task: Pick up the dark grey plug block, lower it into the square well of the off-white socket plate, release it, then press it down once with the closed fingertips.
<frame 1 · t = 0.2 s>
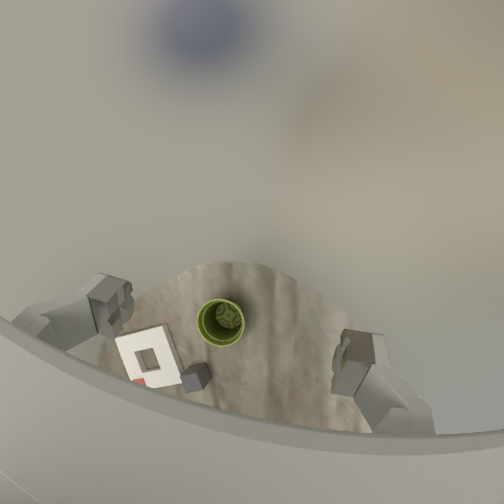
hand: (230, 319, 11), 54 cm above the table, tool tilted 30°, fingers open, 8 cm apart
plant pot: (229, 314, 66), on the table
socket plate: (151, 357, 68), on the table
plug: (200, 371, 67), on the table
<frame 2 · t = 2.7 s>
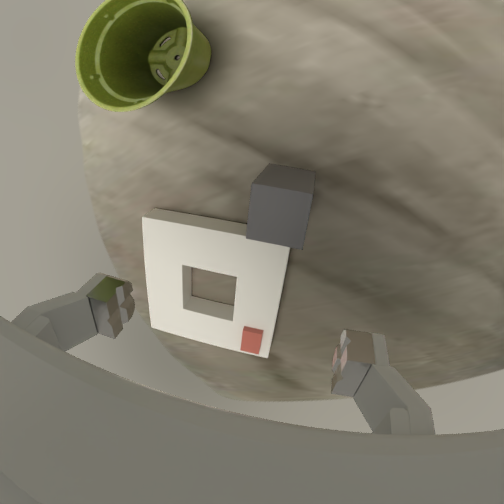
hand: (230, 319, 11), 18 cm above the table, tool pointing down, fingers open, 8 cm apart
plant pot: (181, 57, 23), on the table
socket plate: (215, 280, 33), on the table
plug: (289, 189, 26), on the table
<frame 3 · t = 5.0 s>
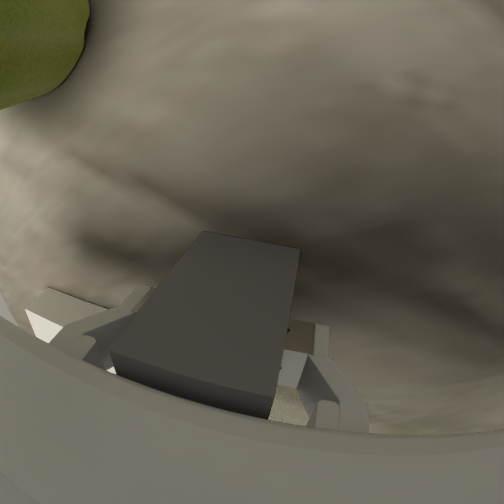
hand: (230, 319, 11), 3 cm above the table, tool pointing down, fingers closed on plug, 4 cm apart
plant pot: (52, 37, 10), on the table
socket plate: (149, 390, 19), on the table
plug: (246, 281, 13), on the table, touching gripper
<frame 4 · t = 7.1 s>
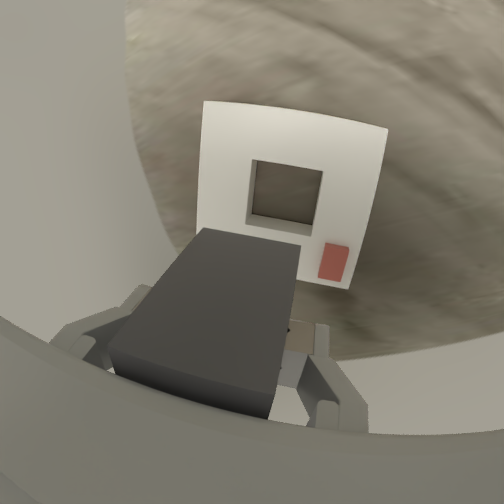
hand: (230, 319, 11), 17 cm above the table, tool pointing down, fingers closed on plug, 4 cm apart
socket plate: (286, 190, 26), on the table
plug: (246, 278, 13), point 15 cm above the table, touching gripper
when the fingers open (4 cm above the table, at t = 9.5 s): plug drops 1 cm, resting in socket plate.
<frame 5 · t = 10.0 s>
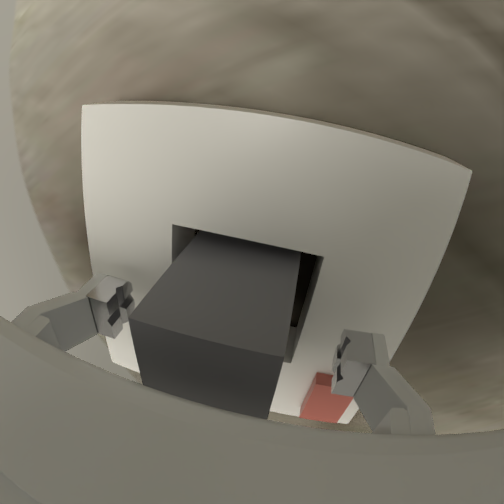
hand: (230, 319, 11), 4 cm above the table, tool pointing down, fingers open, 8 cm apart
socket plate: (250, 270, 14), on the table
plug: (252, 265, 14), resting in socket plate
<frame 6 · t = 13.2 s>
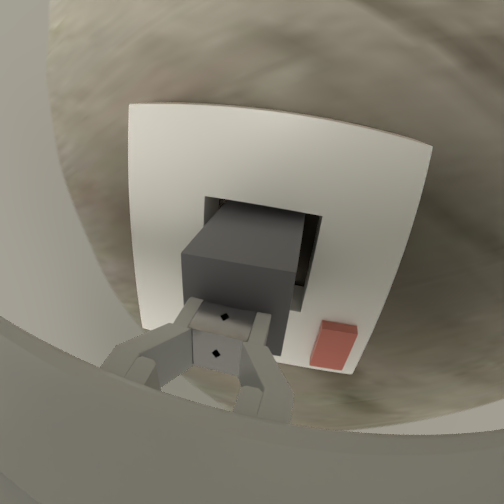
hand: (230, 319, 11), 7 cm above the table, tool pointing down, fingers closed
socket plate: (264, 236, 17), on the table
plug: (265, 232, 17), resting in socket plate
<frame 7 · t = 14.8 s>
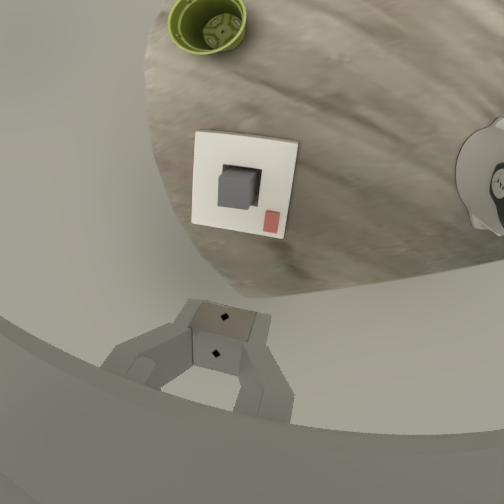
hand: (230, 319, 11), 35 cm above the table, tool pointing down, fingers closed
plant pot: (225, 32, 35), on the table
socket plate: (244, 180, 45), on the table
plug: (244, 179, 45), resting in socket plate
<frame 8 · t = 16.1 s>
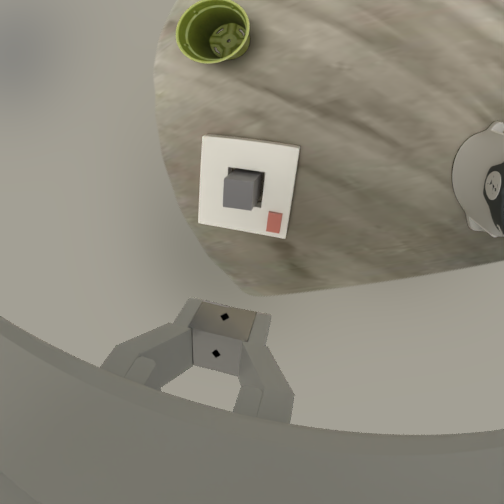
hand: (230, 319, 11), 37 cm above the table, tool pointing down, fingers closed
plant pot: (230, 41, 37), on the table
socket plate: (248, 183, 47), on the table
plug: (249, 181, 47), resting in socket plate
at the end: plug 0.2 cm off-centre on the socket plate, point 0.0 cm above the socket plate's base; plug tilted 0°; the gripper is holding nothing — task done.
